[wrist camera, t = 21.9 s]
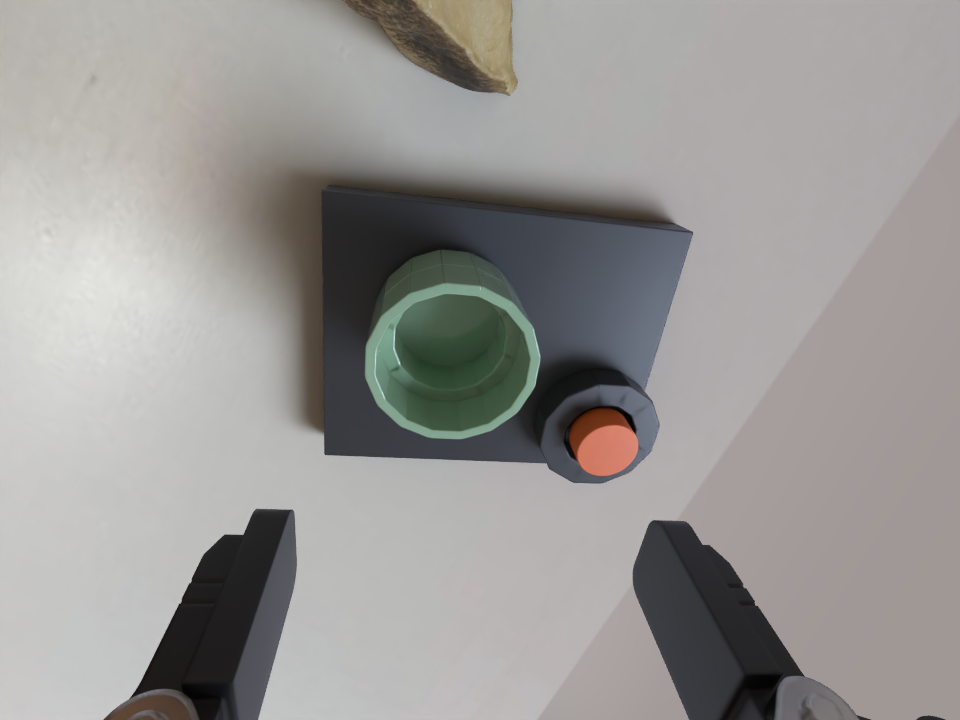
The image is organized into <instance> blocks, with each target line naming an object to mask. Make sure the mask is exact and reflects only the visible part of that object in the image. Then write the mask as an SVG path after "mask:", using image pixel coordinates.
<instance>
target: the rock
mask: <svg viewBox="0 0 960 720" xmlns="http://www.w3.org/2000/svg"><path fill="white" fill-rule="evenodd" d="M343 1H344V2H345V3H346V4H347V5H348V6H350V7H351V8H352V9H354V10H355V11H356V12H357V13H359V14H361V15H363V16H365V17H368V18H371V19H374V20H376V21H378V22H380V23H381V24H382V27H383V28H384V30H385V31H386V33H387V34H388V36H389V37H390V38H391V39H392V41H393V42H394V43H395V45H396V46H397V48H398V49H399V51H400V52H401V53H403V54H404V55H405V56H406V57H407V58H408V59H409V60H410V61H412V62H413V63H414V64H416V65H418V66H420V67H421V68H423V69H425V70H427V71H429V72H431V73H433V74H435V75H437V76H439V77H441V78H443V79H445V80H447V81H450V82H452V83H454V84H456V85H458V86H460V87H462V88H465V89H468V90H472V91H478V92H489V93H493V92H497V93H502V94H506V95H509V96H510V95H511V94H512V92H513V91H514V90H515V89H516V87H517V78H516V76H515V73H514V70H513V64H512V30H511V23H512V13H513V11H512V0H343Z"/></svg>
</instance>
